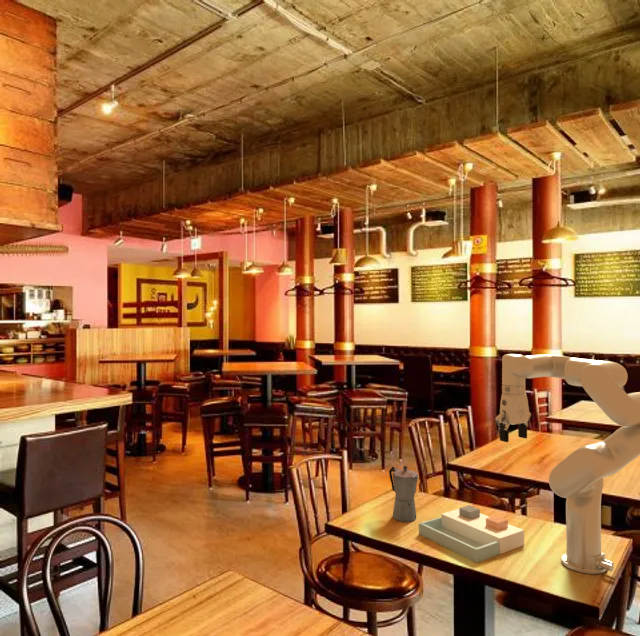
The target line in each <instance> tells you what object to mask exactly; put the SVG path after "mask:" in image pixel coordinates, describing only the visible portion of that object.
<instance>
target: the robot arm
mask: <svg viewBox="0 0 640 636" xmlns="http://www.w3.org/2000/svg"><path fill="white" fill-rule="evenodd" d="M501 360H502V361H501V363H502V364H501V365H502V366H501V367H502V368H501V371H502V372H501V376H502V377H501V381H502V382H501V384H502V385H501V397H500V404H499V414H498V415H496V417H495V422H496V426H497V427H498V430H499V441H500V442H504V443H509V440H510V438H509V437H510V435H509V434H510V433H509V432H510V431H509V427H510V425H514V426H515V425H518V428H517V429H518V433H517V435H518V438H520V439H521V438H522V439H527V438H528V427H529V423H530V420H531V416H532V412H530V411H529V410H530V409H529V400H528V396H527V393H526V379H534V378H535V379H536V378H546V377H550V378H556V379H557V378H558V379H563V380H564V381H566V383H567V384H568V385H569V386H570V385H571V386H574V387H582V388H583V389H584V391H585V393H587V395H588V396H589V397H590V398H591V399H592V401H593V402H594V403H595V404H596V405H597V406H598V407H599V408H600V409H601V411H602V412H603V413H604V414H605V415H606V416H607V418H608V419H610V421H612V422H614V423H615V424H617V425H619V426H621V427H619V428H617V429H616V430H615V431H614V432H613V433H612V434H609V436H608V437H606V438H605V439H603V440H601V441H598V442H594V443H590V444H587V445H583V446H580V447H578V448H577V449H576V450H574V451H573V452H571V453H570V454H569V455H568V456H566V457H565V458H564V459H562V461H560V462H559V463H558V464H556V465H555V466H554V467H552V469H551V471H550V473H549V475H548V484H549V487H550V489H551V491H552V492H553V493H554V494H555V495H557V496H559V497H560V498H564V499H566V500H565V522H566V523H565V526H566V527H565V529H566V530H565V531H566V532H565V533H566V534H565V535H566V538H565V539H566V541H565V542H566V552H565V553H563V554H562V555H561V557H560V559H561V560H560V561H561V563H562V565H563V566H565V567H566V568H568V569H570V570H572V571H575V572H578V573H581V574H589V575H598V574H604V573H605V572H606V571H608V572H613V571H614V562H613V561H610V559H609V560H607V559H606V553H605V552H603V551H602V522H601V521H602V518H601V517H602V516H601V515H602V507H601V506H602V505H601V504H602V494H603V489H604V478H607V477H611V476H613V475H615V474H617V473H619V472H620V471H621V470H622V469H624V468H625V467H626V466H628V465H629V464H630V463H632V462H633V461H634V460H636V459H637V458H638V457H640V391H638V392H636V391H635V392H629V393H627V392H626V391H625V390H624V389H623V387H625V385H626V383H628V382H627V381H628V375H629V374H628V372H627V370H626V368H625V367H624V366H623V365H621V364H619V363H618V362H614V361H610V360H599V359H597V360H596V359H590V358H589V359H588V358H579V357H571V356H565V355H557V354H556V355H555V354H554V355H553V354H532V355H523V354H519V353H518V354H517V353H508V354H507V353H506V354H504V355H502V359H501Z"/></svg>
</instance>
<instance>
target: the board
mask: <svg viewBox="0 0 640 636" xmlns="http://www.w3.org/2000/svg"><path fill="white" fill-rule="evenodd" d="M440 517H441V518H442V527H443V528H445V529H448V530H450V531H452V532H454V533H457V534H459V535H461V536H463V537H465V538H468V539H470V540H472V541H474V542H477V543H479V544H481V545H486V544H489V543H492V542H495V541H497V542H498V552H499V553H500V554H499V555H501V554H504V553H507V552H510V551H513V550H515V549H518V548H520V547H523V546H525V530H524V529H523V528H520V527H517V526H514V525H511V524H510V523H508V527H507V528H504V529H501V530H498V531H497V530H495V529H493V528H490V527H488V526H486V518H489V517H490V516H488V515H486V514H483V513H481V512H480V517H476V518H473V519H468V518H465V517H463V516H460V515H459V508H457V509H453V510H450V511H447V512H443V513H441V514H440Z"/></svg>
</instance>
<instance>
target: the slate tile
mask: <svg viewBox="0 0 640 636" xmlns="http://www.w3.org/2000/svg"><path fill="white" fill-rule="evenodd" d="M458 509H459V515H460V516H463V517H465V518H468V519H473V518H476V517H480V513H481V510H480V508H478V507H474V506H471V505H470V504H469V505H466V506H462V507H459V508H458Z"/></svg>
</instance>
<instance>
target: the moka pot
mask: <svg viewBox="0 0 640 636" xmlns="http://www.w3.org/2000/svg"><path fill="white" fill-rule="evenodd" d="M388 473H389V474H388V475H389V479H390V482H391V484H390V485H391V490H392V491H393V492H394V493H395V498H394V505H393V511H392V517H393V519H394V520H396V521H398V522H400V523H401V522H403V523H411V522H414V521H416V520H417V511H416V502H415V494H416V492H417V485H418V481H419V473H417V472H416V471H415V470H410V469H408V466H407V465H404V466H403V468H402V469H399V468H398V467H397V468H395V467H394V466H391V468H390V469H389V471H388Z"/></svg>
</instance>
